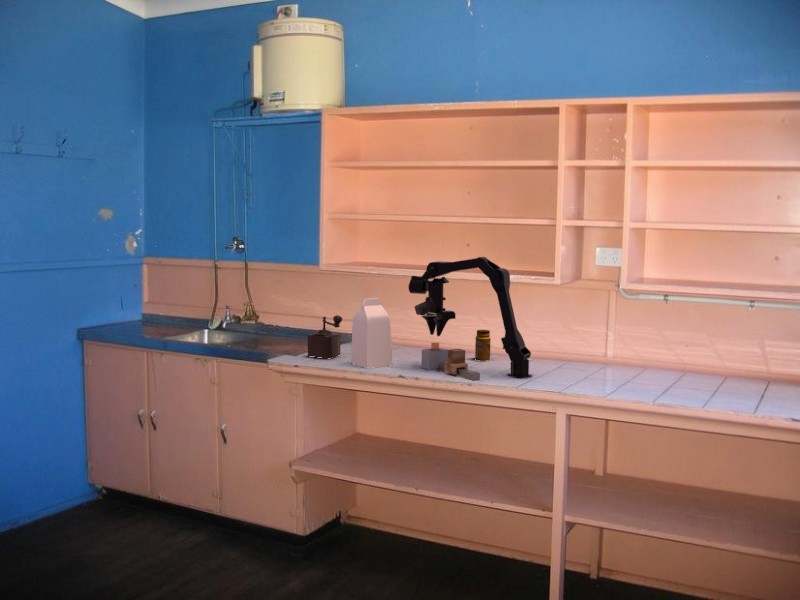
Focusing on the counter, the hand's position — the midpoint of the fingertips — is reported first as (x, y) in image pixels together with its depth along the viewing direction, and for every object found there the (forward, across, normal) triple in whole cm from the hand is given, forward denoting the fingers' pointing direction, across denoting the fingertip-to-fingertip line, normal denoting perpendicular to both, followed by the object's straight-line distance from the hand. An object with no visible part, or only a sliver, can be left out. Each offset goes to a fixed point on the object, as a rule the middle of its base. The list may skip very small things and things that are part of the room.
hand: (435, 335), depth 306 cm
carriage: (+12, +14, 0) cm, 19 cm away
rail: (+12, +16, 0) cm, 20 cm away
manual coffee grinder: (+13, -40, -25) cm, 49 cm away
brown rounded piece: (+6, 0, 0) cm, 6 cm away
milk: (+13, -18, -18) cm, 28 cm away
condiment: (+13, -6, +26) cm, 29 cm away
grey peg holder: (+12, 0, 0) cm, 12 cm away
